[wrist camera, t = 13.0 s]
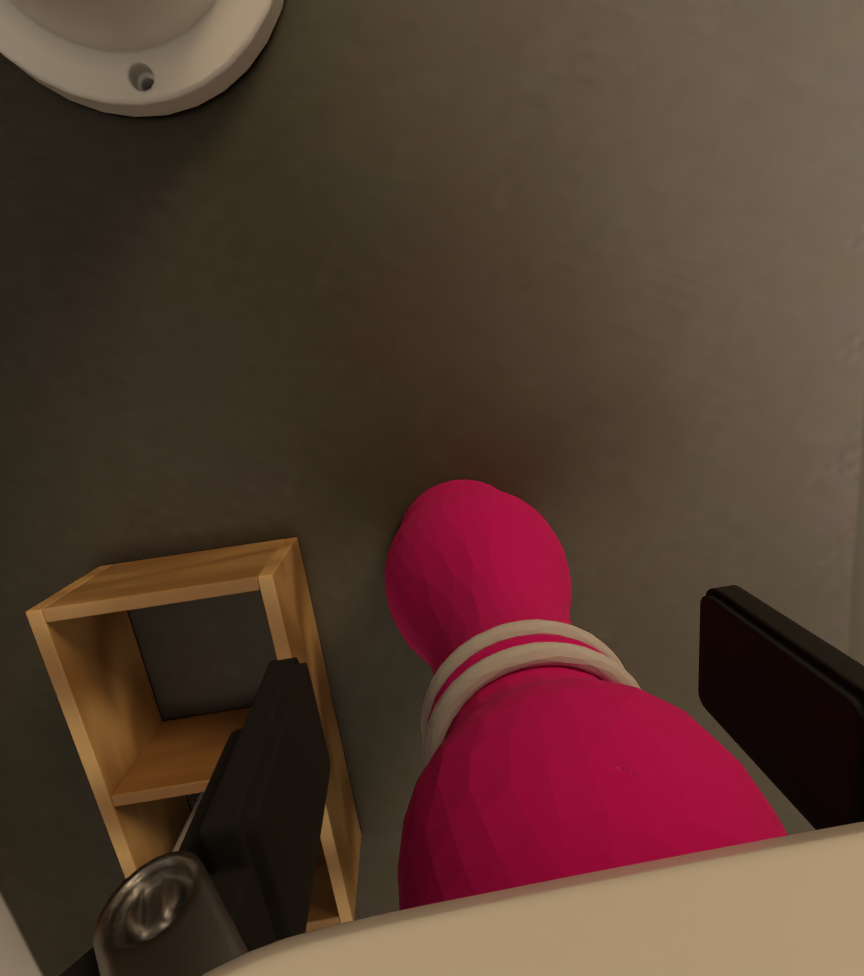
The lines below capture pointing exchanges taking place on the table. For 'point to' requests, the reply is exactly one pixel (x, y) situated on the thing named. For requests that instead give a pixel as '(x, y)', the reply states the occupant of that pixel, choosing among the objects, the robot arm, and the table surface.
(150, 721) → the condiment rack
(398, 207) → the table surface
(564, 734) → the pepper mill
